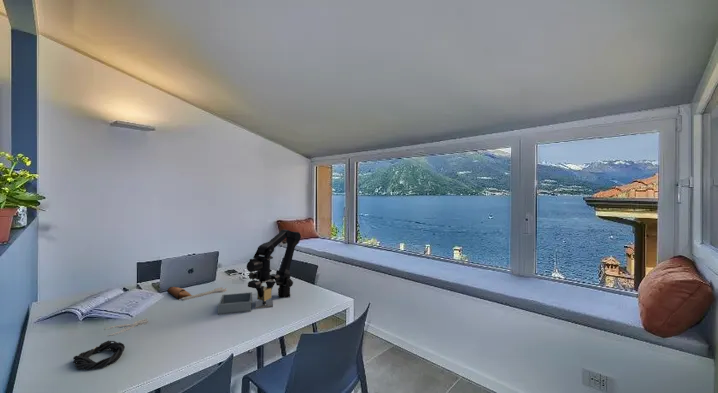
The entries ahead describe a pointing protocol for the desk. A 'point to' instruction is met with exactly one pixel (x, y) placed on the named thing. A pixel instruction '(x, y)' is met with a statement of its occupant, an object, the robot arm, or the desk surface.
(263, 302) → the metal ball pedestal
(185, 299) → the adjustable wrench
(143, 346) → the desk surface
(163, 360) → the desk surface
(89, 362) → the cable
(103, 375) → the desk surface
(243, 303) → the bin
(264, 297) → the wooden block
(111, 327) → the forked twig
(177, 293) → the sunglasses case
